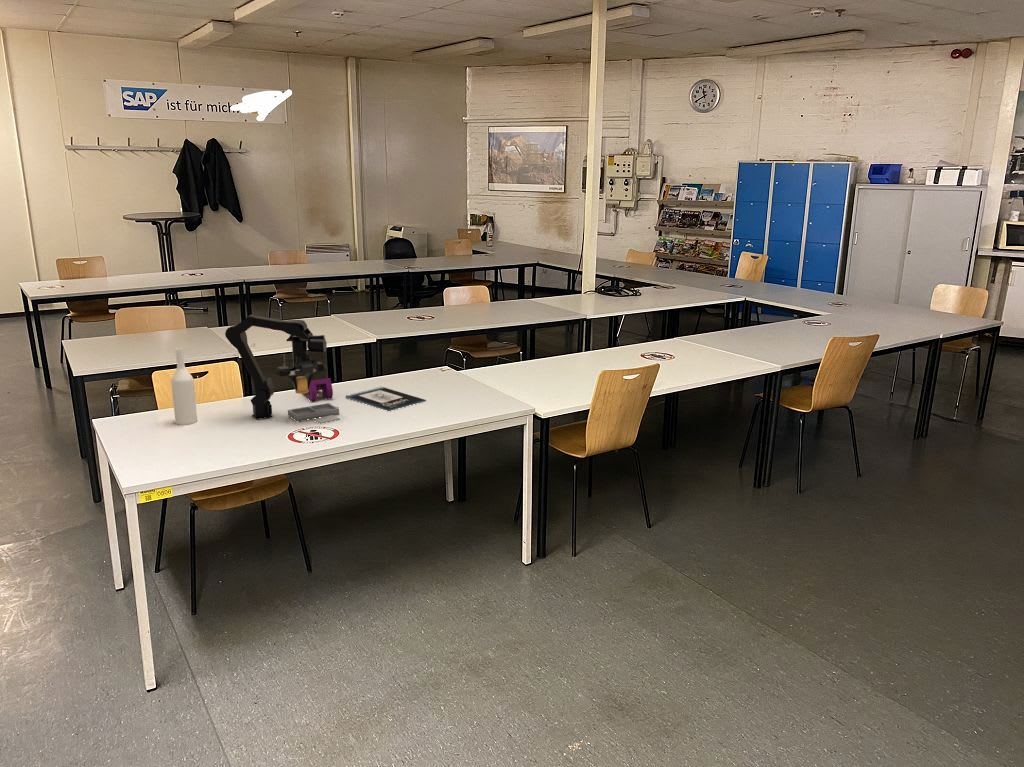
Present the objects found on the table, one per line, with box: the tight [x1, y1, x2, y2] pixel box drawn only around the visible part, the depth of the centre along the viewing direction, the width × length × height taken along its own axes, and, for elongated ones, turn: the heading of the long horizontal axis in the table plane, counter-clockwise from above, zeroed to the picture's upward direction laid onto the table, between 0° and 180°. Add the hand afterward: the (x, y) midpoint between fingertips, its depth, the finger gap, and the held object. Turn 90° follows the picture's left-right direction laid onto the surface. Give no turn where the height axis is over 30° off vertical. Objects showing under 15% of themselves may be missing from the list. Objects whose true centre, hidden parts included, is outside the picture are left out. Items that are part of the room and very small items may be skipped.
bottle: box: [170, 347, 198, 426], centre depth 300 cm, size 8×8×30 cm
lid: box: [312, 415, 341, 425], centre depth 309 cm, size 9×6×1 cm, turn 135°
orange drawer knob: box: [294, 375, 309, 395], centre depth 309 cm, size 5×5×6 cm
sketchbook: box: [345, 386, 427, 412], centre depth 338 cm, size 22×30×2 cm
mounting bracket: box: [306, 377, 334, 402], centre depth 341 cm, size 10×8×18 cm
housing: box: [287, 402, 340, 422], centre depth 314 cm, size 18×10×2 cm, turn 127°
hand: (301, 389), depth 309 cm, fingers closed on orange drawer knob, 4 cm apart
